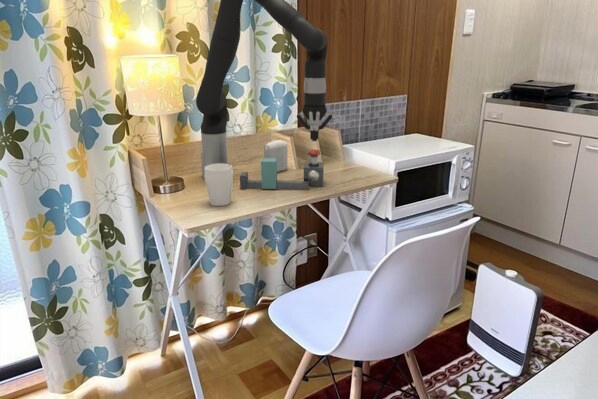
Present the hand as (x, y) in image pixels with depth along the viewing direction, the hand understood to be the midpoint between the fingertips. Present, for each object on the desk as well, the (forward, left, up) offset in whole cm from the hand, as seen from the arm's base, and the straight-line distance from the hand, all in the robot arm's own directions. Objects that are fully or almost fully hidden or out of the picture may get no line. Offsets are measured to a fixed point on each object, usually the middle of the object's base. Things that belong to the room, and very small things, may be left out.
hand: (314, 140), depth 164 cm
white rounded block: (-16, +15, -16) cm, 27 cm away
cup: (-30, -22, -16) cm, 40 cm away
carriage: (-15, -6, -16) cm, 23 cm away
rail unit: (-11, -2, -16) cm, 19 cm away
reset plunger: (0, 0, -11) cm, 11 cm away
